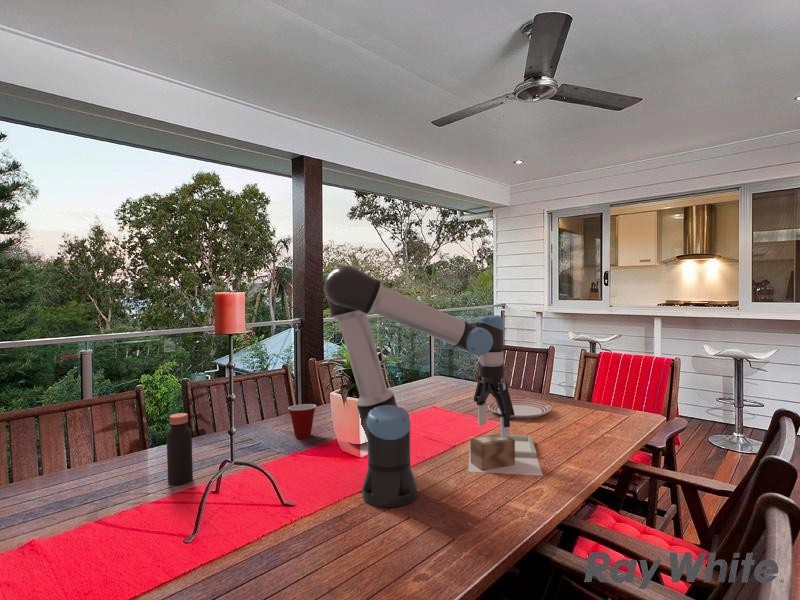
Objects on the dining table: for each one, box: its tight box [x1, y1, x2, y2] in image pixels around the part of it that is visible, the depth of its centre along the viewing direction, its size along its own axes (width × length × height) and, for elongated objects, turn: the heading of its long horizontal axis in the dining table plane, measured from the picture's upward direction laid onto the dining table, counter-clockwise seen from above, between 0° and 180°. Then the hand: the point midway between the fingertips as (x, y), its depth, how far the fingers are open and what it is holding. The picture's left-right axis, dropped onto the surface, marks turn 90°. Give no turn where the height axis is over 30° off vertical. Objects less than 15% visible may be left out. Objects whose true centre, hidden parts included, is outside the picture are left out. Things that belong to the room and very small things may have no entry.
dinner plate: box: [487, 398, 553, 420], centre depth 204 cm, size 27×27×3 cm
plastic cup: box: [287, 403, 317, 440], centre depth 176 cm, size 11×11×12 cm
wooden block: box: [469, 433, 515, 471], centre depth 145 cm, size 12×7×8 cm, turn 110°
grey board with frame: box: [467, 433, 543, 476], centre depth 154 cm, size 22×32×3 cm
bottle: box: [166, 412, 194, 487], centre depth 137 cm, size 7×7×20 cm
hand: (493, 430), depth 145 cm, fingers open, 13 cm apart
